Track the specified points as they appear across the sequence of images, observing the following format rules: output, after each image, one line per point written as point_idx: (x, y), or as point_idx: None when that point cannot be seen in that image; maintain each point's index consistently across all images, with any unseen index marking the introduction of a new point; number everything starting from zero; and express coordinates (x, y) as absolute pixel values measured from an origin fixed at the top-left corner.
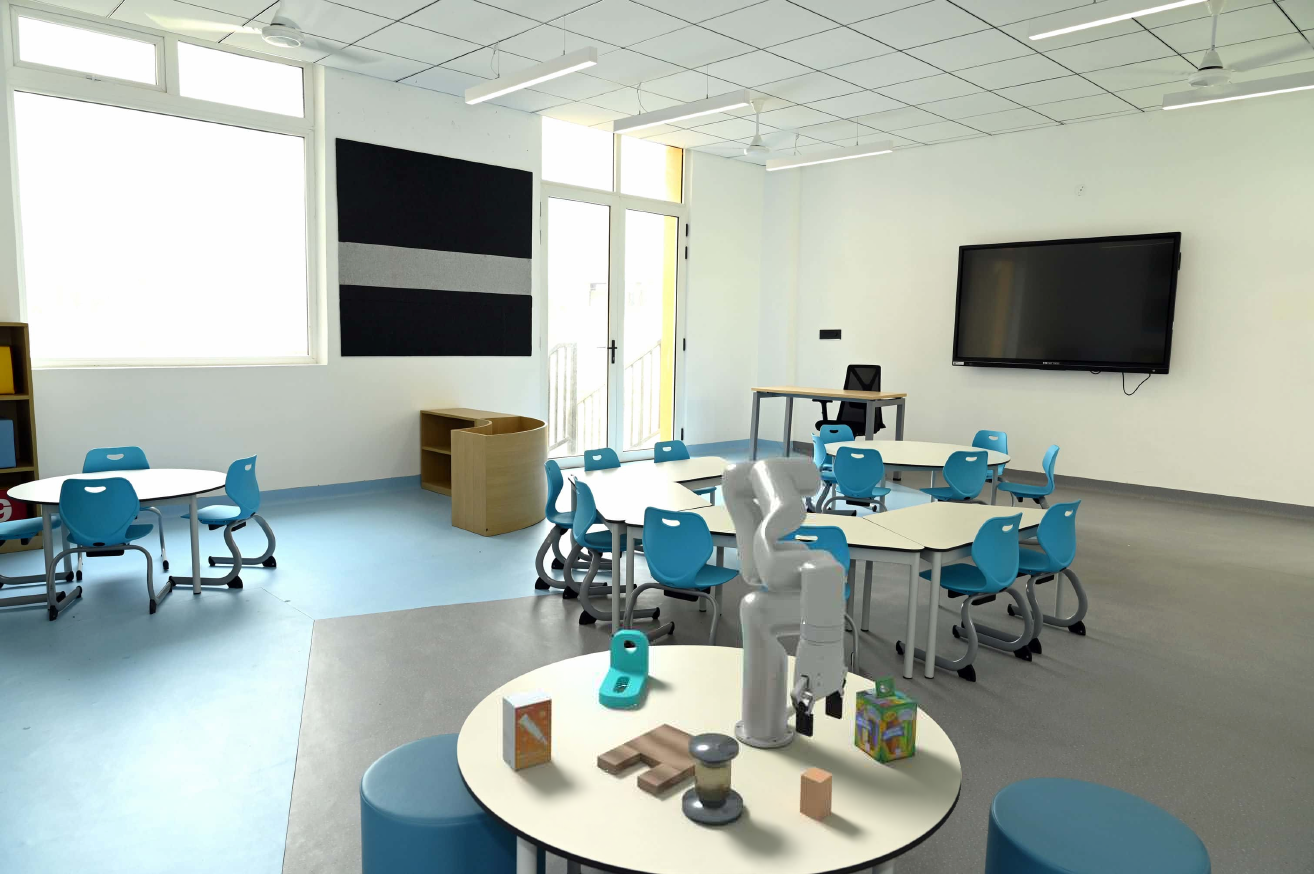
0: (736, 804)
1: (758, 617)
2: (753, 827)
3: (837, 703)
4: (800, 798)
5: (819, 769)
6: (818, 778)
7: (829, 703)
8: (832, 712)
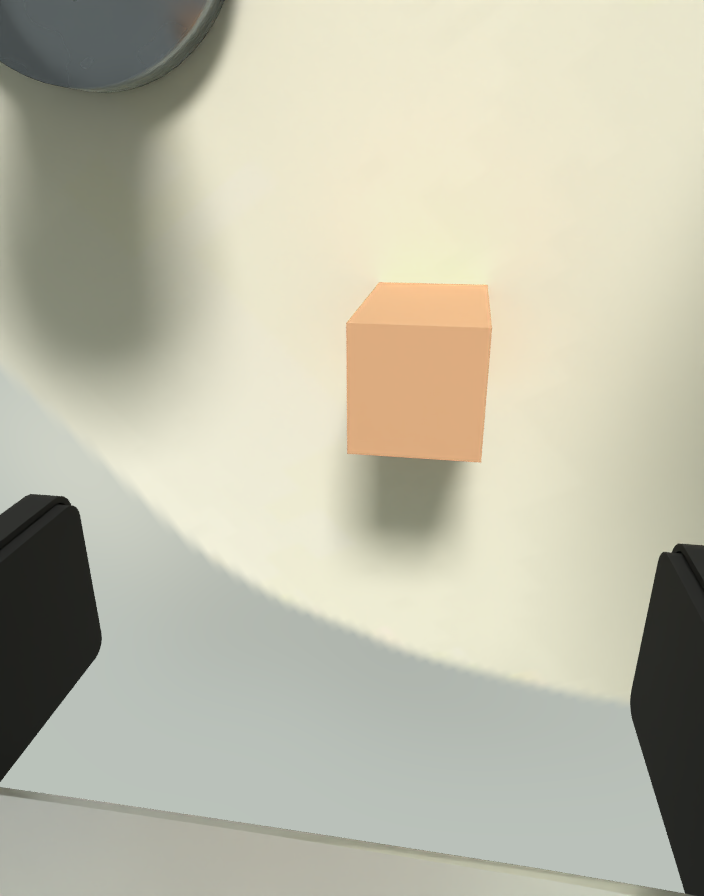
0: (129, 32)
1: None
2: (127, 192)
3: (689, 847)
4: (370, 295)
5: (485, 376)
6: (384, 421)
7: (701, 711)
8: (658, 667)
